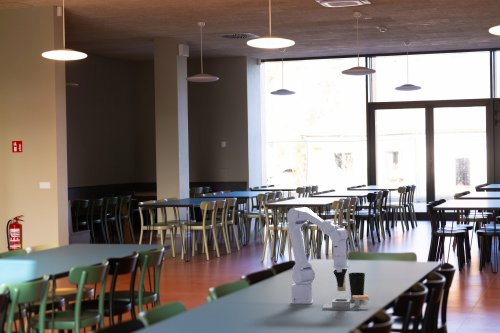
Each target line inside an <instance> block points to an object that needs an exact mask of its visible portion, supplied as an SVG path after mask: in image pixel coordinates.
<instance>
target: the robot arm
mask: <svg viewBox="0 0 500 333" xmlns="http://www.w3.org/2000/svg"><path fill="white" fill-rule="evenodd" d="M286 217H287V228H288V234H289V238H290V244H291V248H292V254H293V258H294V263H295V264H294V265H293V267H292V276H291V277H292V281H293V282H294V283H292V284H291V304H293V305H295V304H296V305H299V304H304V305H305V304H311V305H312V304H313V303H314V301H315V300H314V299H313V286H312V285H313V281H314V280H315V278H316V273H315V270H314V269H313V266H312V264H311V263H310V262H309V261H308V260H307V255H306V249H305V245H304V244H305V243H304V240H303V235H302V230H301V228H302V226H303V225H305V224H306V223H307V222H308V221H309V222H310V223H312V224H314V225H315V226H317V227H318V228H319V229H320V230H319V231H321V232H322V233H323V234H325V235H327V236H328V237H329V239H330V240H331V242H332V248H333V250H332V252H333V268H334V270H333V274H334V276H335V279H336V283H337V285H338V287H343V284H344V277H345V278H346V273H347V271H348V269H347V268H350V265H349V264H347V262H348V260H347V240H348V239H349V232H348V230H347V229H346V228H345V227H340V226H339V225H336V224H335V223H333V222H332V220H330V219H323V218H321V217H320V216H318V215H317V214H315V212H313V211H312V209H311V208H309V207H308V206H307V207H306V206H304V207H297V208H296V207H295V208H294V207H292V208H290V209H288V212H287V213H286ZM337 285H336V286H337Z"/></svg>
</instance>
